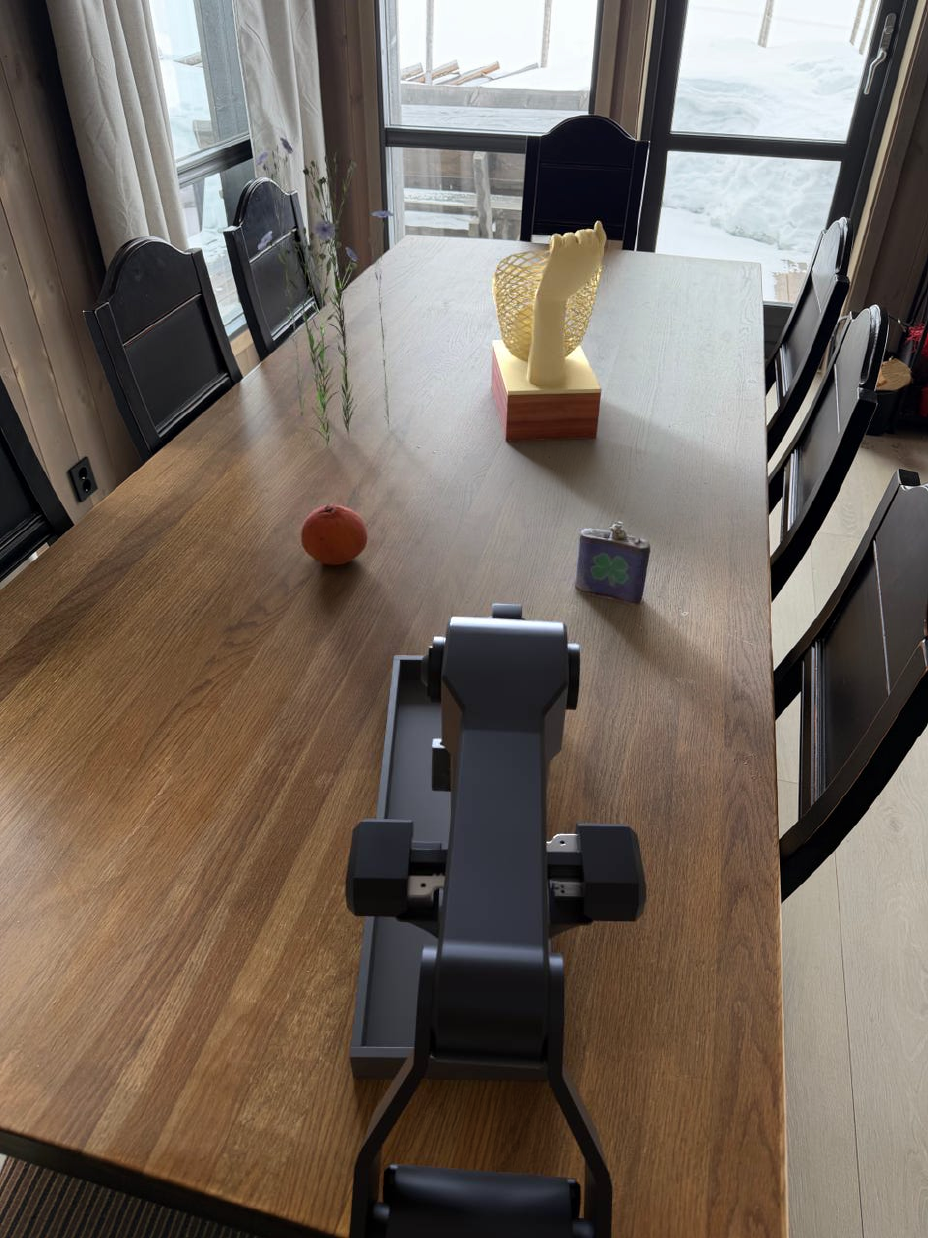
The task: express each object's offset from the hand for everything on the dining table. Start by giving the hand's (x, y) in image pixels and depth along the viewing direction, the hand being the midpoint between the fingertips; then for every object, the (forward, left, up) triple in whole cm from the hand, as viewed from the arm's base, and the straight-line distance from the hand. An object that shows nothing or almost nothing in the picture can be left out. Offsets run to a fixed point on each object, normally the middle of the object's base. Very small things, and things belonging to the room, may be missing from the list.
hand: (491, 939), depth 61 cm
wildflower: (+108, -20, -13) cm, 111 cm away
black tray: (+18, -5, -13) cm, 23 cm away
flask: (+47, -39, -13) cm, 63 cm away
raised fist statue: (+100, -56, -13) cm, 115 cm away
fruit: (+69, -8, -13) cm, 71 cm away
